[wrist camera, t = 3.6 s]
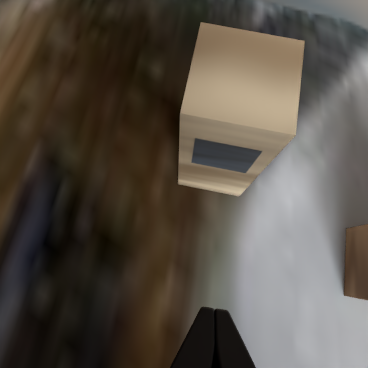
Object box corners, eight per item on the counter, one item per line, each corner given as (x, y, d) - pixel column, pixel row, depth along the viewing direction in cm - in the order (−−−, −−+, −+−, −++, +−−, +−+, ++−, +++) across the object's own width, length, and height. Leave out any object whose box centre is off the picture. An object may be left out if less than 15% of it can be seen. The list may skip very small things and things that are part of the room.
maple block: (239, 196, 22) (295, 136, 12) (177, 184, 23) (179, 114, 12) (247, 140, 24) (304, 41, 13) (189, 129, 24) (200, 22, 13)
